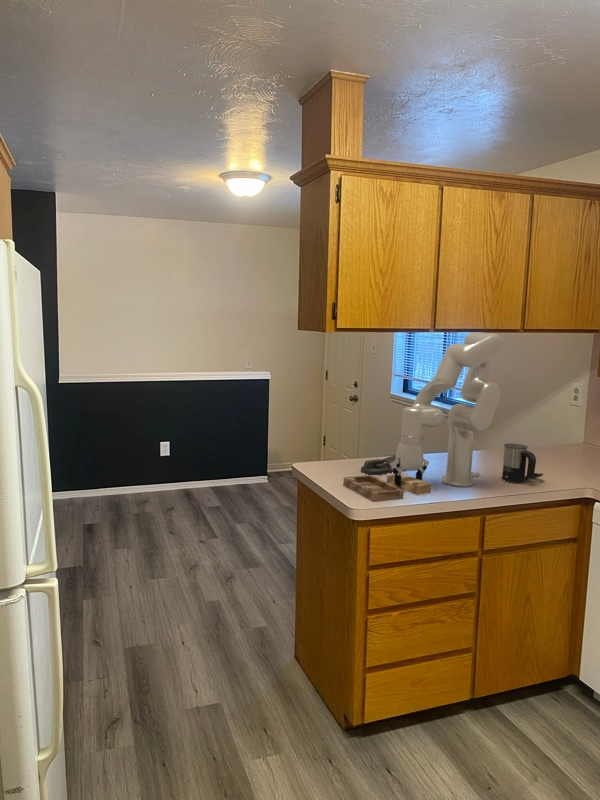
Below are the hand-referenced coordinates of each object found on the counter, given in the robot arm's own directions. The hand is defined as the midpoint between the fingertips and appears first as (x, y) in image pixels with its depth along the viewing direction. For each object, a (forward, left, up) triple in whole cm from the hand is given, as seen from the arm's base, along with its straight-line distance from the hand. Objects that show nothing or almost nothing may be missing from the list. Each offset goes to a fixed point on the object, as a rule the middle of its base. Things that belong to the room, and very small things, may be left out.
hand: (408, 483), depth 229 cm
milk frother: (-53, +5, -2) cm, 53 cm away
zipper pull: (-7, -24, -2) cm, 25 cm away
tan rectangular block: (0, +1, -2) cm, 2 cm away
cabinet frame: (+16, 0, -2) cm, 16 cm away
